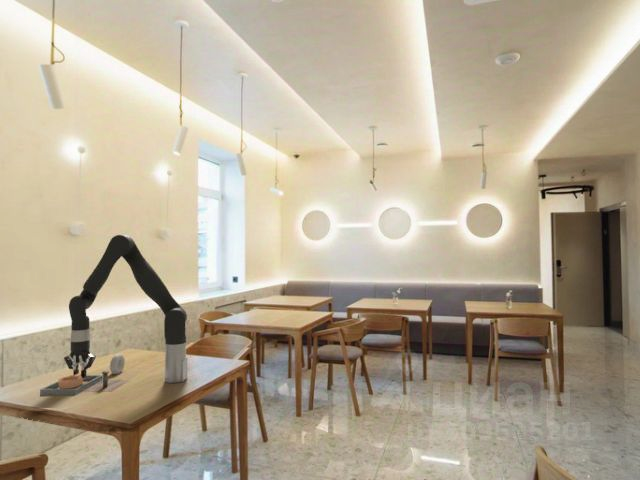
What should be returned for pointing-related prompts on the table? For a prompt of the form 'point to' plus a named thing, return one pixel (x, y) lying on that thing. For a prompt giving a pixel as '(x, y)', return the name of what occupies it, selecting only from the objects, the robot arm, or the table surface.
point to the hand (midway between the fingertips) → (79, 378)
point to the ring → (70, 381)
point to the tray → (54, 391)
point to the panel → (106, 384)
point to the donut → (117, 364)
